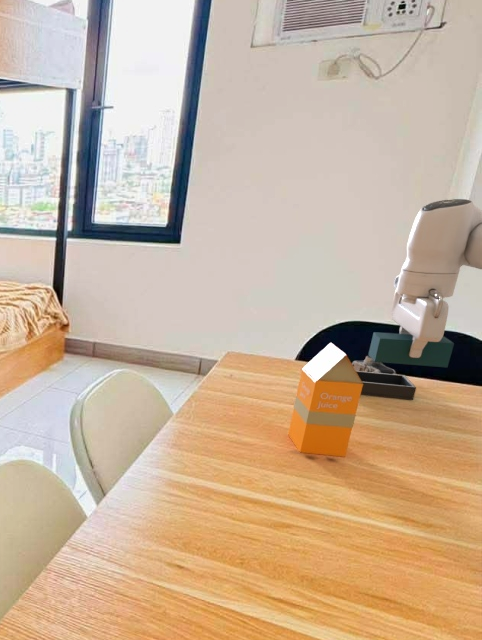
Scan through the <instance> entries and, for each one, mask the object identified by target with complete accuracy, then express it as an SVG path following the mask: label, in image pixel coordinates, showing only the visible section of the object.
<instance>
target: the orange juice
mask: <svg viewBox="0 0 482 640" xmlns="http://www.w3.org/2000/svg"><path fill="white" fill-rule="evenodd" d="M351 363H352V362H351V360H350V359H349V357H348V355H347V354H346V352H344V351H343V350H341V349H340V348H339V347H338V346H336V345H335V344H334V343H332V342H329V343H328V344H327V345H326V346H325V347H324V348H323V349H321V350H320V351H319V352H318V353H317V354H316V355H315V356H314V357H312V359H310V360H309V361H308V363H307V364H305V365H304V366H303V367H302V368H301V371H300V377H299V381H298V386H297V391H296V396H295V400H294V404H293V410H292V414H291V415H292V416H291V419H290V424H289V429H288V433H287V435H288V437H289V438H290V440H291V441H292V443H293V444H294V446H295V447H296V449H297V450H298V452H299V453H303V454H314V455H323V456H332V457H333V456H334V457H342V458H343V457H346V455H347V452H348V451H347V450H348V447H349V443H350V437H351V435H352V430H353V428H354V424H355V421H356V420H355V419H356V416H357V415H356V414H357V410H358V406H359V403H360V398H361V390H362V386H363V383H362V381H361V379H360V378H359V376H358V374H357V373H356V371H355V369H354V367H353V366H352V364H351Z"/></svg>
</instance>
